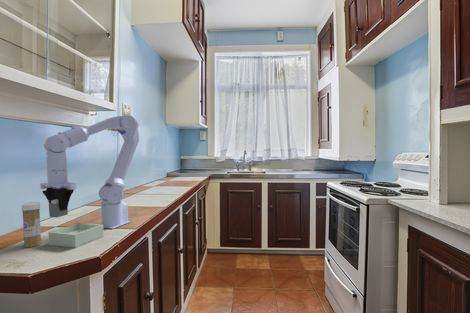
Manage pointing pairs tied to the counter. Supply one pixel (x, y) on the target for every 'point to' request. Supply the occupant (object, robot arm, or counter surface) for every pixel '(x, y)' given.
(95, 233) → the green box
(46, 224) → the counter surface
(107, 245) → the counter surface
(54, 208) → the grey plug
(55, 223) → the counter surface
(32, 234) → the sprinkles bottle
